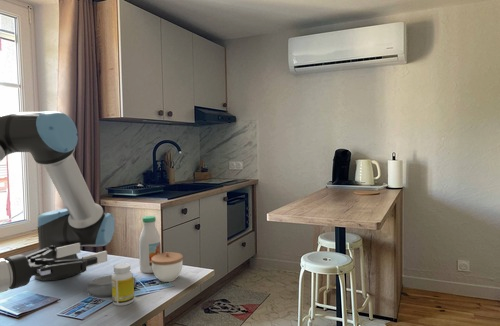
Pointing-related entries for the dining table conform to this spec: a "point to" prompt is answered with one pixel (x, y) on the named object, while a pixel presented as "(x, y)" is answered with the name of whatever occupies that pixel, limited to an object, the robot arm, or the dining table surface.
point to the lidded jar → (167, 266)
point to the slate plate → (102, 287)
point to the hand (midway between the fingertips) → (92, 251)
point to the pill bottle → (122, 285)
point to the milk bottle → (148, 244)
